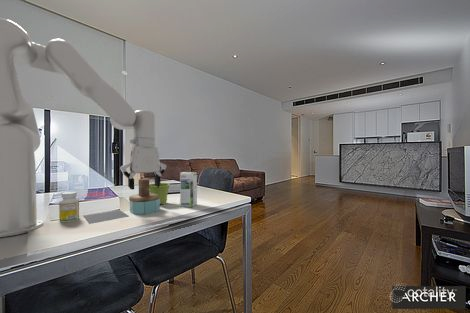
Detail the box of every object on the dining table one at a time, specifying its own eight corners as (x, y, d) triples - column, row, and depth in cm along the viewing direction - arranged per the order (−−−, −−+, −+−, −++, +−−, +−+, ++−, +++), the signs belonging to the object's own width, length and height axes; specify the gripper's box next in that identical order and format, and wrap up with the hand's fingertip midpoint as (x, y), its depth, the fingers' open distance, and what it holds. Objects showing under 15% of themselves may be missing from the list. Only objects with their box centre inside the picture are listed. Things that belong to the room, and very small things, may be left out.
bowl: (136, 217, 79) (136, 203, 79) (127, 211, 86) (127, 199, 86) (163, 212, 86) (163, 199, 86) (152, 207, 93) (152, 195, 93)
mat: (89, 225, 70) (89, 223, 70) (82, 217, 79) (82, 215, 79) (129, 217, 78) (129, 216, 78) (119, 211, 87) (119, 209, 87)
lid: (134, 203, 79) (134, 182, 79) (125, 198, 87) (125, 179, 87) (162, 199, 86) (162, 179, 86) (152, 195, 94) (151, 177, 94)
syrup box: (179, 206, 94) (179, 172, 94) (185, 203, 100) (185, 171, 100) (192, 207, 93) (192, 172, 93) (197, 204, 99) (197, 171, 99)
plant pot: (173, 201, 104) (173, 183, 104) (165, 206, 95) (164, 186, 95) (154, 201, 105) (154, 182, 105) (144, 206, 96) (143, 185, 96)
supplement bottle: (71, 223, 72) (71, 194, 72) (55, 223, 72) (54, 194, 72) (83, 218, 78) (82, 191, 77) (67, 218, 78) (67, 191, 77)
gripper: (123, 142, 77) (123, 191, 77) (170, 143, 88) (170, 186, 89) (117, 143, 82) (117, 189, 83) (161, 144, 94) (162, 184, 94)
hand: (145, 187), depth 86 cm, fingers open, 9 cm apart
